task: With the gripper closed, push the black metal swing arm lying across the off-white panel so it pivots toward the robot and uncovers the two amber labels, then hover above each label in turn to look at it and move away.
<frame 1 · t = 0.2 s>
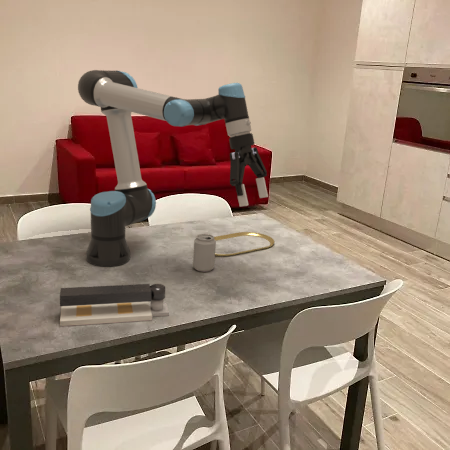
hand: (254, 201, 156), 28 cm above the table, tool tilted 20°, fingers open, 13 cm apart
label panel: (106, 314, 137), on the table
can: (203, 269, 173), on the table
swing arm: (114, 294, 136), point 6 cm above the table, hinge at 0.0°
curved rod: (235, 246, 198), on the table
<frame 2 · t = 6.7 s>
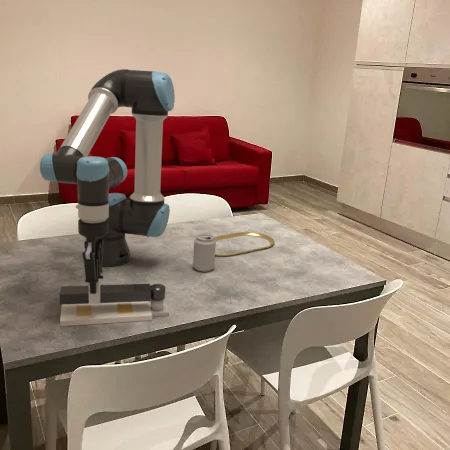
hand: (94, 302, 132), 5 cm above the table, tool pointing down, fingers closed
swing arm: (114, 293, 136), point 6 cm above the table, hinge at -2.4°, touching gripper
everything else where it was.
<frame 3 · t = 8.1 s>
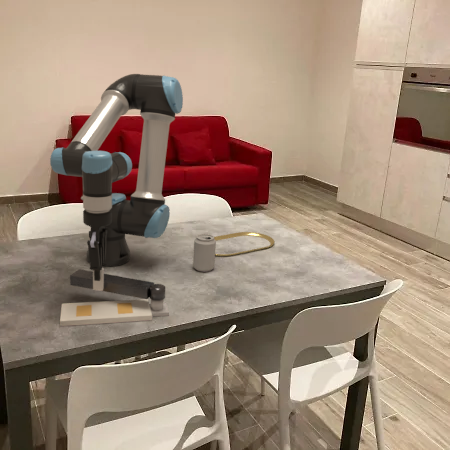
hand: (98, 289, 140), 5 cm above the table, tool pointing down, fingers closed
swing arm: (118, 285, 142), point 6 cm above the table, hinge at -29.5°, touching gripper
everything else where it was.
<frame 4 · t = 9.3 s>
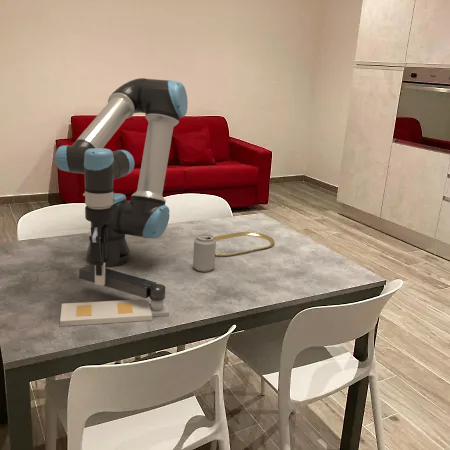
hand: (100, 283, 143), 5 cm above the table, tool pointing down, fingers closed
swing arm: (122, 282, 144), point 6 cm above the table, hinge at -40.4°, touching gripper
everything else where it was.
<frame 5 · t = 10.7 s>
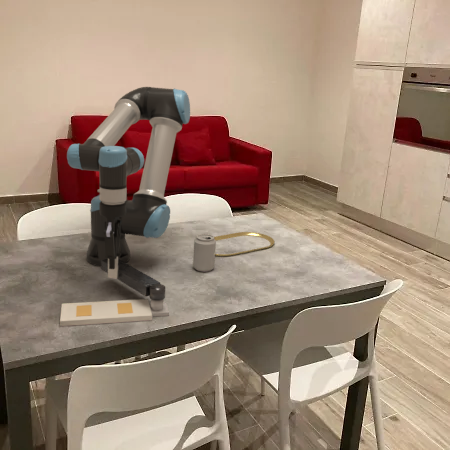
hand: (112, 277, 148), 5 cm above the table, tool pointing down, fingers closed
swing arm: (133, 277, 147), point 6 cm above the table, hinge at -60.7°, touching gripper
everything else where it was.
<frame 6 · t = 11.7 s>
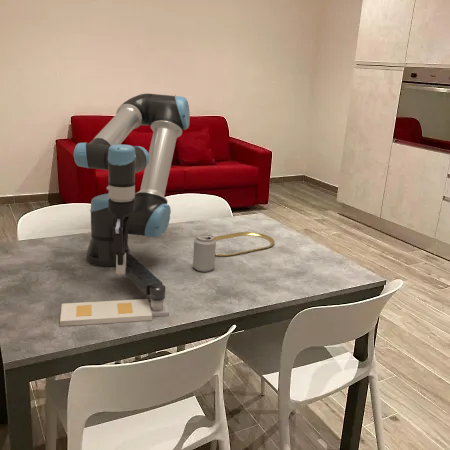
hand: (121, 273, 151), 6 cm above the table, tool pointing down, fingers closed
swing arm: (140, 276, 148), point 6 cm above the table, hinge at -72.5°, touching gripper
everything else where it was.
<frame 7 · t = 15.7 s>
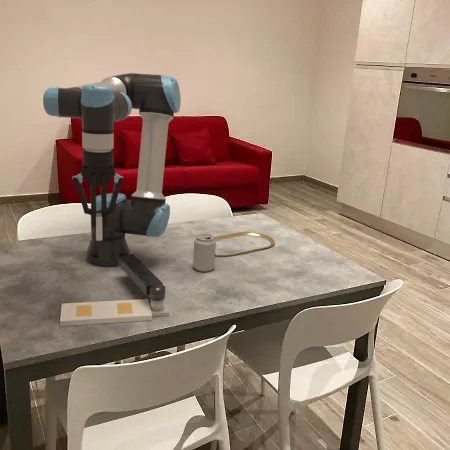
hand: (99, 238, 130), 22 cm above the table, tool pointing down, fingers closed
swing arm: (141, 276, 149), point 6 cm above the table, hinge at -74.2°
everything else where it was.
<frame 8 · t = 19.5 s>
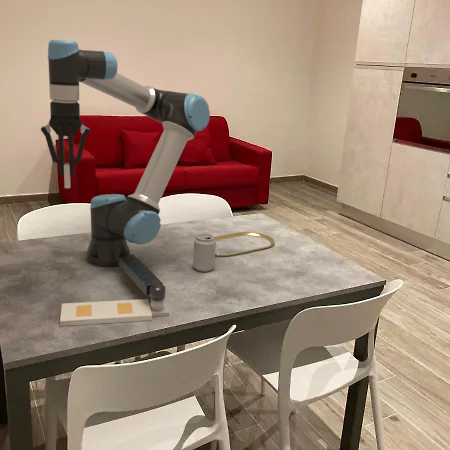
hand: (67, 186, 139), 32 cm above the table, tool pointing down, fingers closed
nothing on the table moved.
at the end: swing arm at -74° (first picture: +0°) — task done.
